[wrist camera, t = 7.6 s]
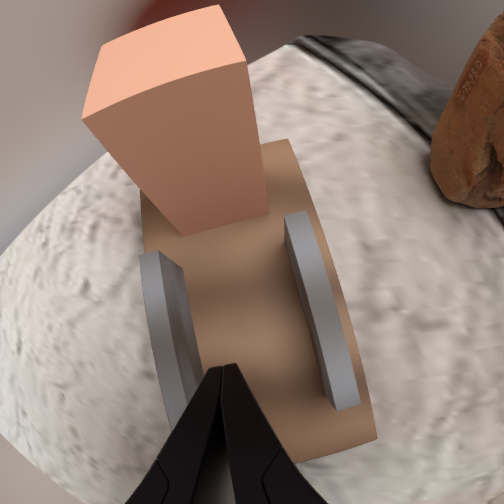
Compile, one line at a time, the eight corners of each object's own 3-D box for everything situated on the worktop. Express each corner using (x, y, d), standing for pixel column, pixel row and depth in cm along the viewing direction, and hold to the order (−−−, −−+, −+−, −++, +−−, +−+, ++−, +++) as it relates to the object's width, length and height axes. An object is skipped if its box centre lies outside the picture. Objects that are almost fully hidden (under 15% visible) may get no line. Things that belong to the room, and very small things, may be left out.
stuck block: (269, 213, 19) (246, 60, 8) (183, 236, 19) (81, 119, 8) (249, 145, 21) (218, 4, 10) (173, 167, 21) (102, 45, 10)
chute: (371, 432, 15) (399, 459, 10) (199, 468, 16) (172, 502, 11) (288, 150, 22) (286, 101, 17) (147, 190, 23) (116, 152, 18)
